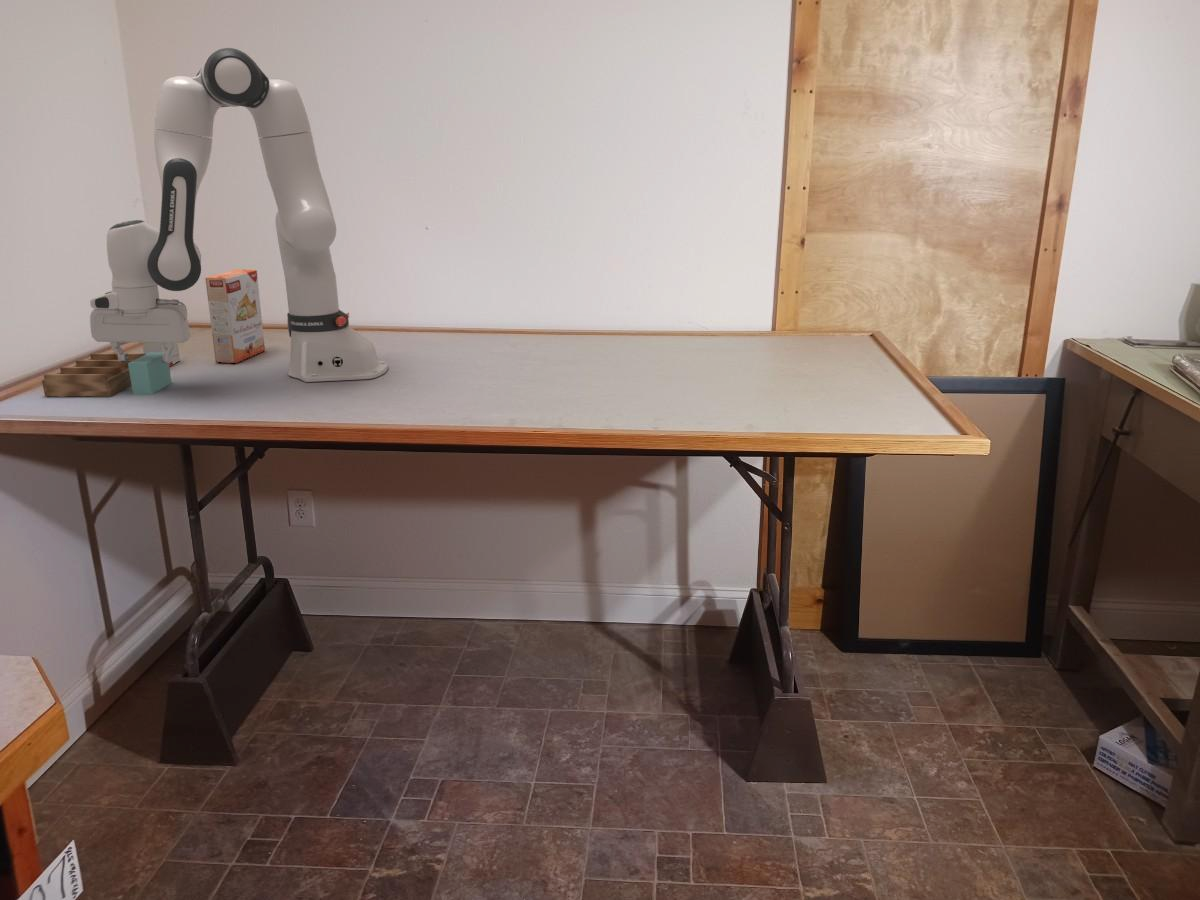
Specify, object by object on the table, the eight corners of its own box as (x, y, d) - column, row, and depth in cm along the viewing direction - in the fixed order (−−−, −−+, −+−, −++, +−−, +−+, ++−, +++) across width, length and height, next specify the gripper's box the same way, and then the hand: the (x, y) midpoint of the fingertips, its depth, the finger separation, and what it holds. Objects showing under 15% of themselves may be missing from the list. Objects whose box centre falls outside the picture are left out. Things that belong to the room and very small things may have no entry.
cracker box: (237, 364, 234) (226, 277, 227) (214, 363, 235) (202, 276, 229) (267, 351, 247) (257, 268, 240) (245, 350, 248) (235, 268, 242)
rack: (152, 373, 226) (149, 353, 225) (110, 396, 208) (106, 374, 206) (92, 373, 227) (88, 353, 225) (45, 396, 208) (40, 375, 206)
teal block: (171, 382, 219) (167, 352, 217) (151, 395, 209) (146, 363, 207) (154, 382, 219) (149, 352, 217) (133, 394, 209) (127, 363, 207)
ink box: (165, 369, 230) (157, 320, 226) (144, 369, 230) (136, 320, 226) (181, 361, 238) (174, 313, 234) (162, 361, 238) (154, 313, 234)
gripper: (191, 297, 210) (198, 359, 215) (97, 295, 211) (106, 357, 215) (178, 302, 204) (186, 366, 209) (82, 300, 205) (92, 364, 209)
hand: (145, 362), depth 212 cm, fingers open, 8 cm apart
